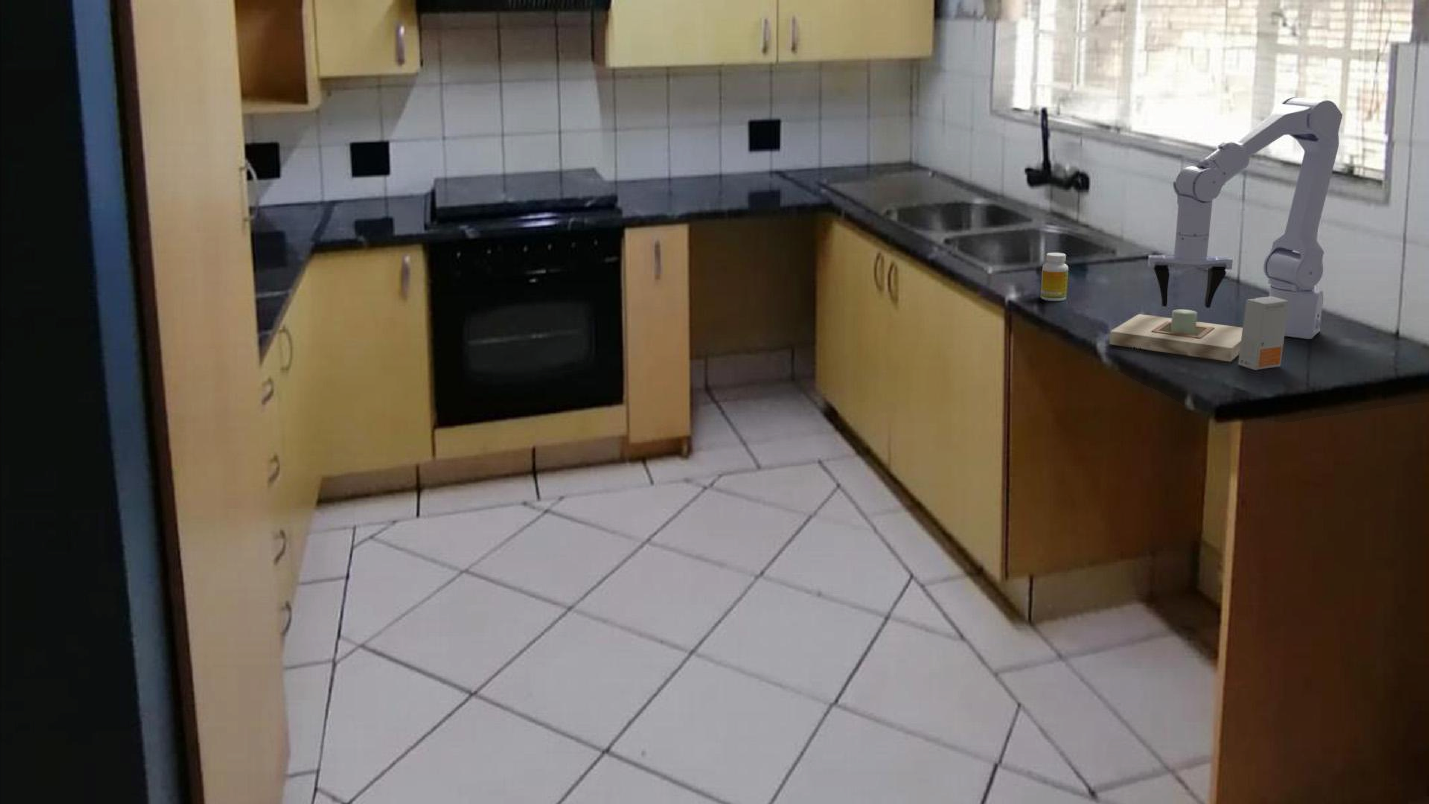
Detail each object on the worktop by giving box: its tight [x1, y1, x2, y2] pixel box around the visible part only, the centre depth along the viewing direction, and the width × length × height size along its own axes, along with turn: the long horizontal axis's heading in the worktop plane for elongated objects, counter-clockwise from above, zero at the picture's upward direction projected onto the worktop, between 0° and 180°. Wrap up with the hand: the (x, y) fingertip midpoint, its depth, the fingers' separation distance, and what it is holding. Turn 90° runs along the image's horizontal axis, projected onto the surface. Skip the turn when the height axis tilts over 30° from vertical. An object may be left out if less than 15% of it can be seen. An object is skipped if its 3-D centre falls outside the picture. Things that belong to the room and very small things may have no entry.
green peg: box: [1170, 309, 1198, 336], centre depth 244 cm, size 4×4×6 cm
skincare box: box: [1237, 296, 1289, 371], centre depth 228 cm, size 6×4×12 cm
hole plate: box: [1109, 313, 1243, 362], centre depth 244 cm, size 22×16×3 cm
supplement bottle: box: [1040, 252, 1069, 302], centre depth 279 cm, size 5×5×10 cm
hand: (1185, 305), depth 242 cm, fingers open, 7 cm apart
